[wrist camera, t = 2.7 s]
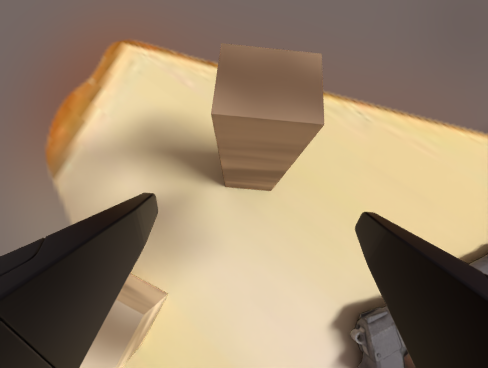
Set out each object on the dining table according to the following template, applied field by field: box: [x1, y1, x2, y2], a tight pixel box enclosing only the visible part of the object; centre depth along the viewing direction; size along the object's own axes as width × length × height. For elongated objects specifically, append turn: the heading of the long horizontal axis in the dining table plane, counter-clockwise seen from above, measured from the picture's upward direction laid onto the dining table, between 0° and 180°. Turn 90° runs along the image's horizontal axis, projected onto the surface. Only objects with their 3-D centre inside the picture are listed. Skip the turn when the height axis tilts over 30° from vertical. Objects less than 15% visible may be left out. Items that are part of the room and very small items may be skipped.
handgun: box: [351, 255, 488, 368], centre depth 17 cm, size 3×22×14 cm
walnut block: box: [211, 43, 324, 191], centre depth 15 cm, size 4×5×13 cm
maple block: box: [80, 274, 168, 368], centre depth 15 cm, size 4×4×5 cm
